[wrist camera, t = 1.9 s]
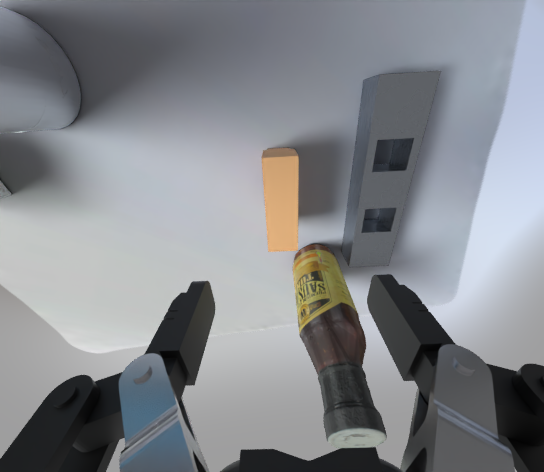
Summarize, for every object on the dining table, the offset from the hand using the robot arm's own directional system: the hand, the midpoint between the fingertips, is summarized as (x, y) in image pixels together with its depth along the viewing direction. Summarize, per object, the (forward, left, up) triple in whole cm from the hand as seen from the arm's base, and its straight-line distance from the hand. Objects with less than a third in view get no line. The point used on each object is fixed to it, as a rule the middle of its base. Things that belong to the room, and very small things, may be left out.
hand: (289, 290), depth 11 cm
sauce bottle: (+4, -11, -18) cm, 22 cm away
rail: (+11, 0, -18) cm, 21 cm away
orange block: (0, 0, -18) cm, 18 cm away
